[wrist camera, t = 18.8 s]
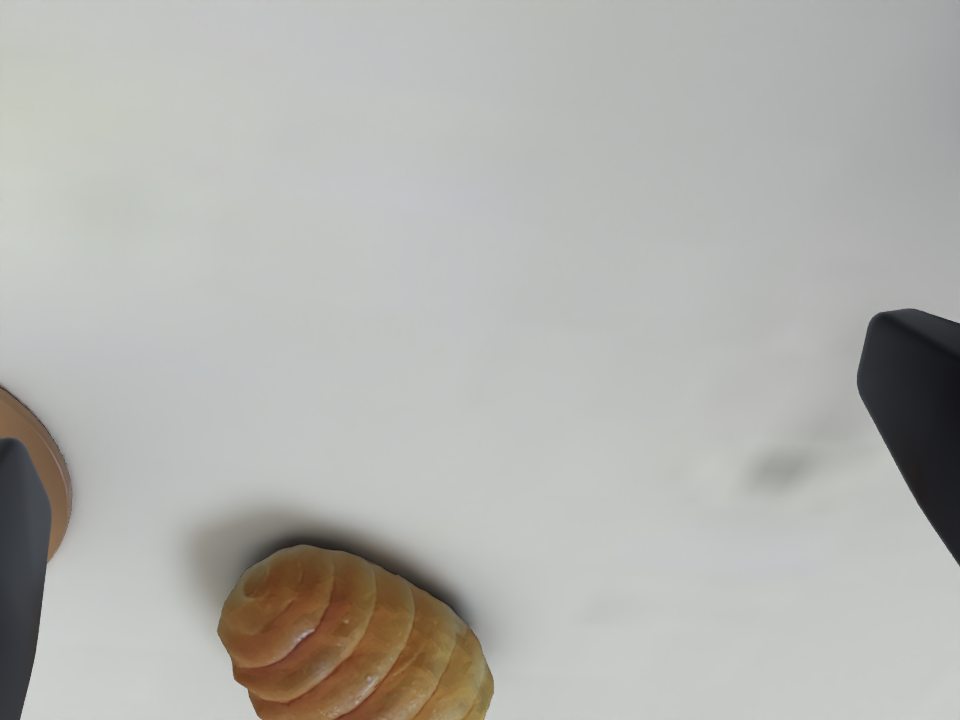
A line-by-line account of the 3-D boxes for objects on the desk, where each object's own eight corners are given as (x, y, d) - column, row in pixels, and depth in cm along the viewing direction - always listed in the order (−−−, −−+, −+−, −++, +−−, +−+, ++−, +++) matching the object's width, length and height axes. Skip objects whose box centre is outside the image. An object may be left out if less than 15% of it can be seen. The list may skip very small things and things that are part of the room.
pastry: (163, 602, 26) (146, 712, 23) (341, 489, 25) (348, 589, 22) (352, 732, 32) (358, 837, 28) (507, 643, 30) (532, 742, 27)
